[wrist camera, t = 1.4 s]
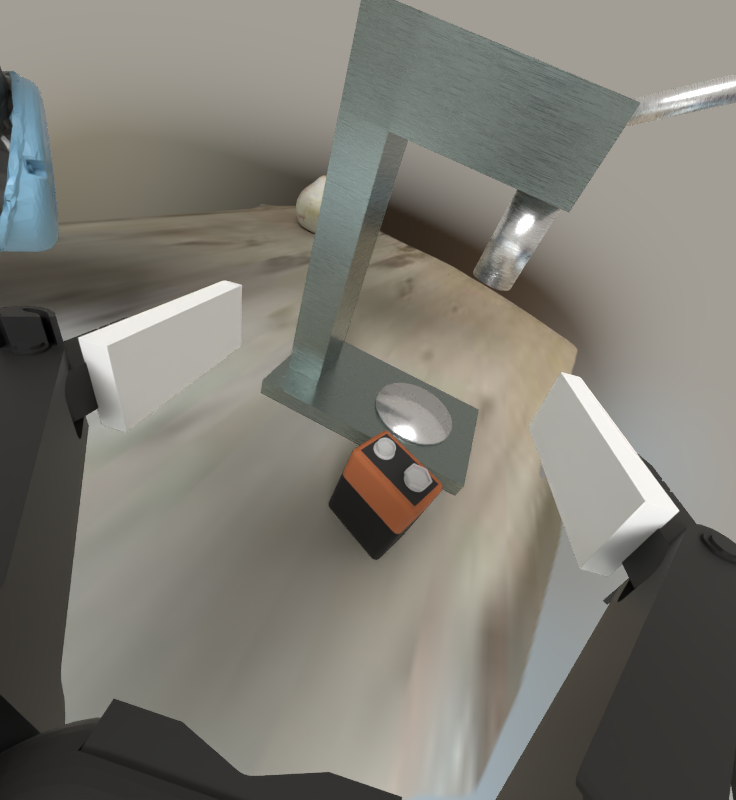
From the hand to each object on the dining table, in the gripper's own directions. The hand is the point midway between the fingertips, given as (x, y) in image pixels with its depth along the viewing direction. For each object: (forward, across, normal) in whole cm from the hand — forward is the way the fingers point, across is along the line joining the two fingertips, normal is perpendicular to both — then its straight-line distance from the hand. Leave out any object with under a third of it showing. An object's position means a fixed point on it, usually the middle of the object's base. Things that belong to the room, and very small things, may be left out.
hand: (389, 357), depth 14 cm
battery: (+9, +2, -21) cm, 23 cm away
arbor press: (+24, +3, -19) cm, 30 cm away
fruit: (+72, -27, -8) cm, 78 cm away
